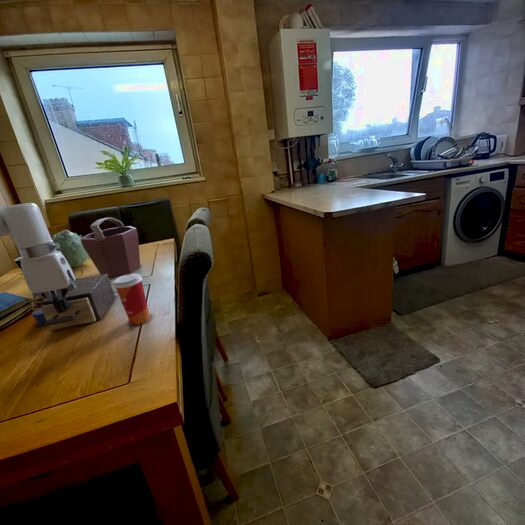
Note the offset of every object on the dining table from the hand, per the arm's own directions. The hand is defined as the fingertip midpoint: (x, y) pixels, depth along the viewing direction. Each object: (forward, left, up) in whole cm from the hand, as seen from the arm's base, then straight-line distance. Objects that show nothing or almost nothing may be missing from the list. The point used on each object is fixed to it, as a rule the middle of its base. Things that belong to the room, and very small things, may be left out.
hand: (63, 310), depth 80 cm
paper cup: (+20, -2, -7) cm, 21 cm away
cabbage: (-27, +74, -7) cm, 79 cm away
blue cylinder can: (-12, +11, -7) cm, 18 cm away
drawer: (0, +7, -6) cm, 9 cm away
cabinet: (0, +12, -7) cm, 14 cm away
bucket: (0, +53, -7) cm, 54 cm away
